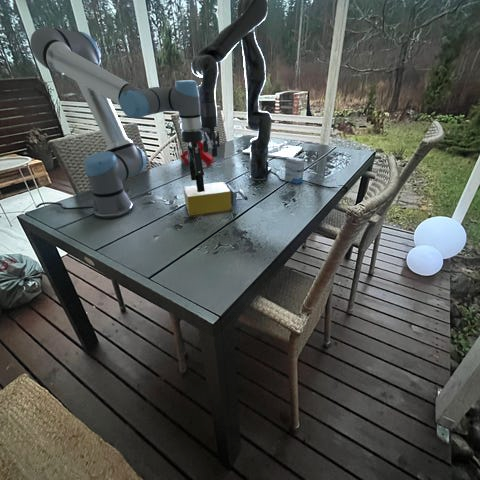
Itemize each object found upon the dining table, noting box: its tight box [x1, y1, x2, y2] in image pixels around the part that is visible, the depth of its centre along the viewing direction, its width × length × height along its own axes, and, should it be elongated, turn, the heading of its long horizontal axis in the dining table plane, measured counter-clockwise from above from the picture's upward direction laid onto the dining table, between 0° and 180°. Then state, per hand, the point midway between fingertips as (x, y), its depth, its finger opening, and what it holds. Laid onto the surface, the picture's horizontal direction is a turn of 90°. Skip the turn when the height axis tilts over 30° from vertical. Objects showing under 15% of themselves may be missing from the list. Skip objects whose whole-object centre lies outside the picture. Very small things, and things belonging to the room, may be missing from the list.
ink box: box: [284, 156, 306, 185], centre depth 140 cm, size 8×5×12 cm, turn 47°
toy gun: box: [180, 141, 215, 167], centre depth 167 cm, size 18×4×15 cm
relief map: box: [242, 138, 304, 160], centre depth 192 cm, size 27×35×5 cm
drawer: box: [226, 183, 249, 209], centre depth 116 cm, size 22×10×7 cm, turn 108°
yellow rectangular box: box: [183, 181, 232, 218], centre depth 114 cm, size 17×11×9 cm, turn 108°
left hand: (197, 185), depth 110 cm, fingers open, 13 cm apart
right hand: (210, 154), depth 119 cm, fingers open, 8 cm apart
